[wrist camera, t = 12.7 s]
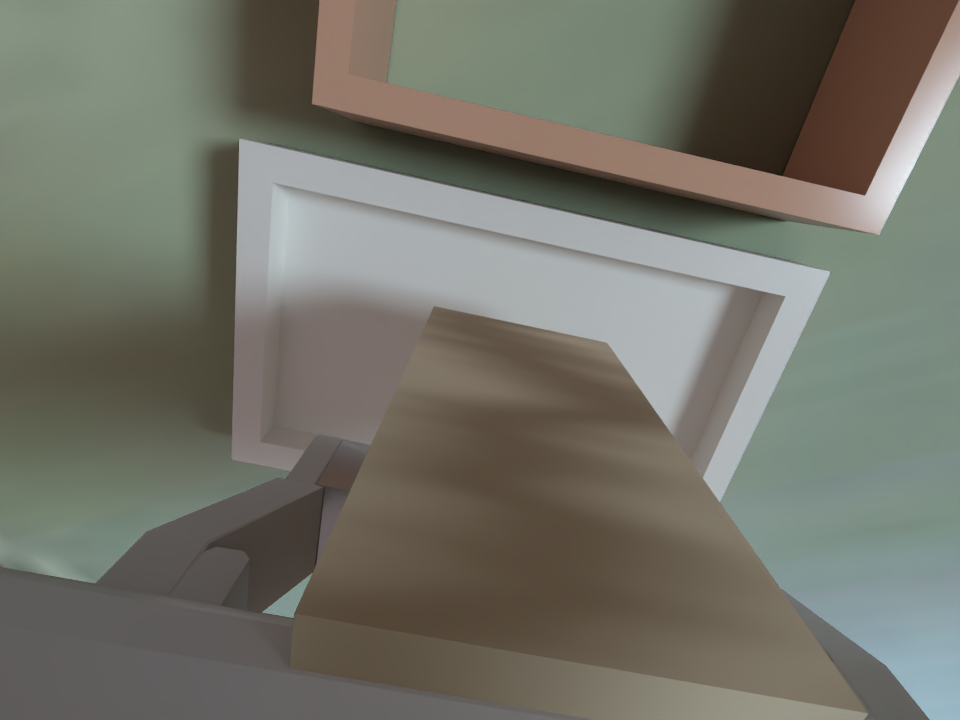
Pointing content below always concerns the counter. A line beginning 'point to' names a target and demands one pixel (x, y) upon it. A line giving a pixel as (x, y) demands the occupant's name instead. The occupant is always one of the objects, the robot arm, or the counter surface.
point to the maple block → (550, 550)
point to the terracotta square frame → (792, 197)
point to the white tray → (485, 302)
